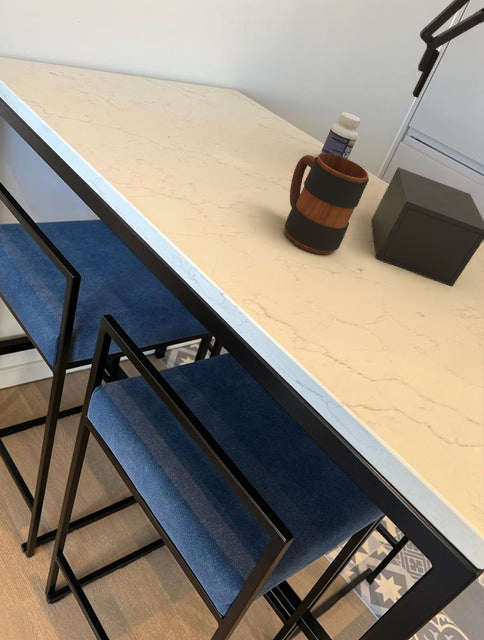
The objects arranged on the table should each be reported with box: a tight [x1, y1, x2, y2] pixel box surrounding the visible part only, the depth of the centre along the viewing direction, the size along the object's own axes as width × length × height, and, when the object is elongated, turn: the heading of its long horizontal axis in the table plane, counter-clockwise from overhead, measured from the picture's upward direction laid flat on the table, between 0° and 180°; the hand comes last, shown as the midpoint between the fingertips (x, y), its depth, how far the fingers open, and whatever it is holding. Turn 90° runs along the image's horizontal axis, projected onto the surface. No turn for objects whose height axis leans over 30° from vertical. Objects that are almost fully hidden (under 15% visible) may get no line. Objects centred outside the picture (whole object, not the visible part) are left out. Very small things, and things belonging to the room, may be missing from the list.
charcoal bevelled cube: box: [370, 166, 484, 287], centre depth 89 cm, size 15×13×10 cm
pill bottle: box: [319, 111, 362, 160], centre depth 111 cm, size 5×5×10 cm
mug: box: [284, 152, 370, 255], centre depth 81 cm, size 9×12×12 cm
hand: (455, 111), depth 89 cm, fingers open, 13 cm apart
